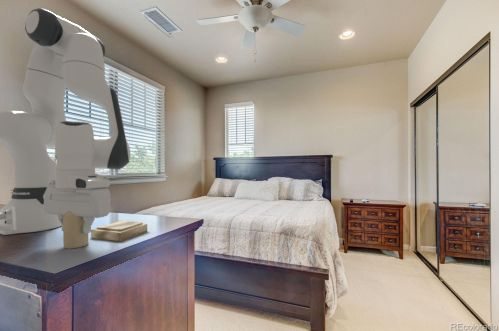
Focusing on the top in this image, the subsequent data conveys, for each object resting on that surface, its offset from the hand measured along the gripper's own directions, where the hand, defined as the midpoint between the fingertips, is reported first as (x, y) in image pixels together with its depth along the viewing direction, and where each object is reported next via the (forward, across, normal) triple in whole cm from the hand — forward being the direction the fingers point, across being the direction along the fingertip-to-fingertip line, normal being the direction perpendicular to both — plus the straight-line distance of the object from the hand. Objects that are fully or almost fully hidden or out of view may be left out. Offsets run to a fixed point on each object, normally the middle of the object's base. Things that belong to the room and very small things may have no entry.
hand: (76, 232), depth 67 cm
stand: (+4, +3, +12) cm, 13 cm away
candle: (+4, 0, 0) cm, 4 cm away
